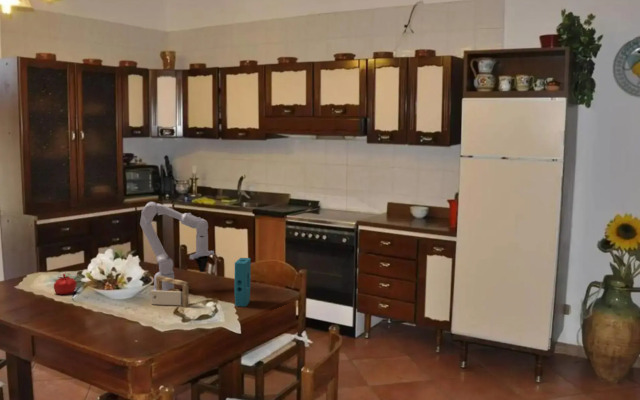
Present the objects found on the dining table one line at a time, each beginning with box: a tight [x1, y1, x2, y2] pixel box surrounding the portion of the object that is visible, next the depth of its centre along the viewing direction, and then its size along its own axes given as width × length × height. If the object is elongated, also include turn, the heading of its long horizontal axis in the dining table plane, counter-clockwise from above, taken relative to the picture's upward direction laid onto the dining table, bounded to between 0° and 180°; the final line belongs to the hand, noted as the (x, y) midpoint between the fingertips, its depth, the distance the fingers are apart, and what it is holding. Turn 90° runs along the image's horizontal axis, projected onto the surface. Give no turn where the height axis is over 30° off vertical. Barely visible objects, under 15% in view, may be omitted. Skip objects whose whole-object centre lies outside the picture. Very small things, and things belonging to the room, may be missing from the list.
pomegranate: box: [53, 273, 78, 295], centre depth 287 cm, size 10×10×9 cm
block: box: [234, 257, 252, 307], centre depth 275 cm, size 12×5×20 cm, turn 174°
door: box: [150, 289, 183, 306], centre depth 270 cm, size 15×2×6 cm, turn 86°
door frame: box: [156, 276, 189, 308], centre depth 274 cm, size 19×2×11 cm, turn 55°
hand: (202, 271), depth 296 cm, fingers closed
